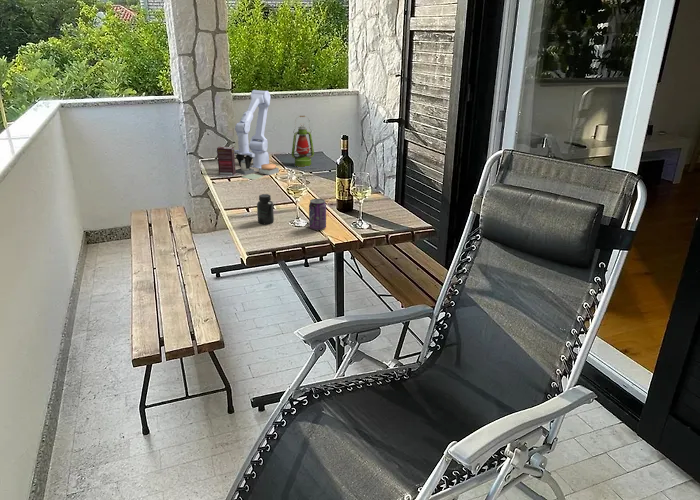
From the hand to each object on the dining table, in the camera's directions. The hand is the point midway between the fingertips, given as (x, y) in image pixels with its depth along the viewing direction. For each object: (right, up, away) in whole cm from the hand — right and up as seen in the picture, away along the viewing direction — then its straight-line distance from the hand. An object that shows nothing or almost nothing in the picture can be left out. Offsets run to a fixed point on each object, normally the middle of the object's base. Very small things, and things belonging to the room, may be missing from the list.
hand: (244, 167), depth 304 cm
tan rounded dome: (+14, -3, 0) cm, 14 cm away
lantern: (+32, +4, +18) cm, 37 cm away
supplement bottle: (+24, -35, -75) cm, 87 cm away
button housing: (+14, -3, 0) cm, 14 cm away
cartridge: (0, -2, +1) cm, 2 cm away
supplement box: (-9, -5, -6) cm, 12 cm away
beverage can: (+47, -38, -81) cm, 101 cm away
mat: (+6, -7, -8) cm, 12 cm away
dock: (0, -3, +1) cm, 3 cm away
